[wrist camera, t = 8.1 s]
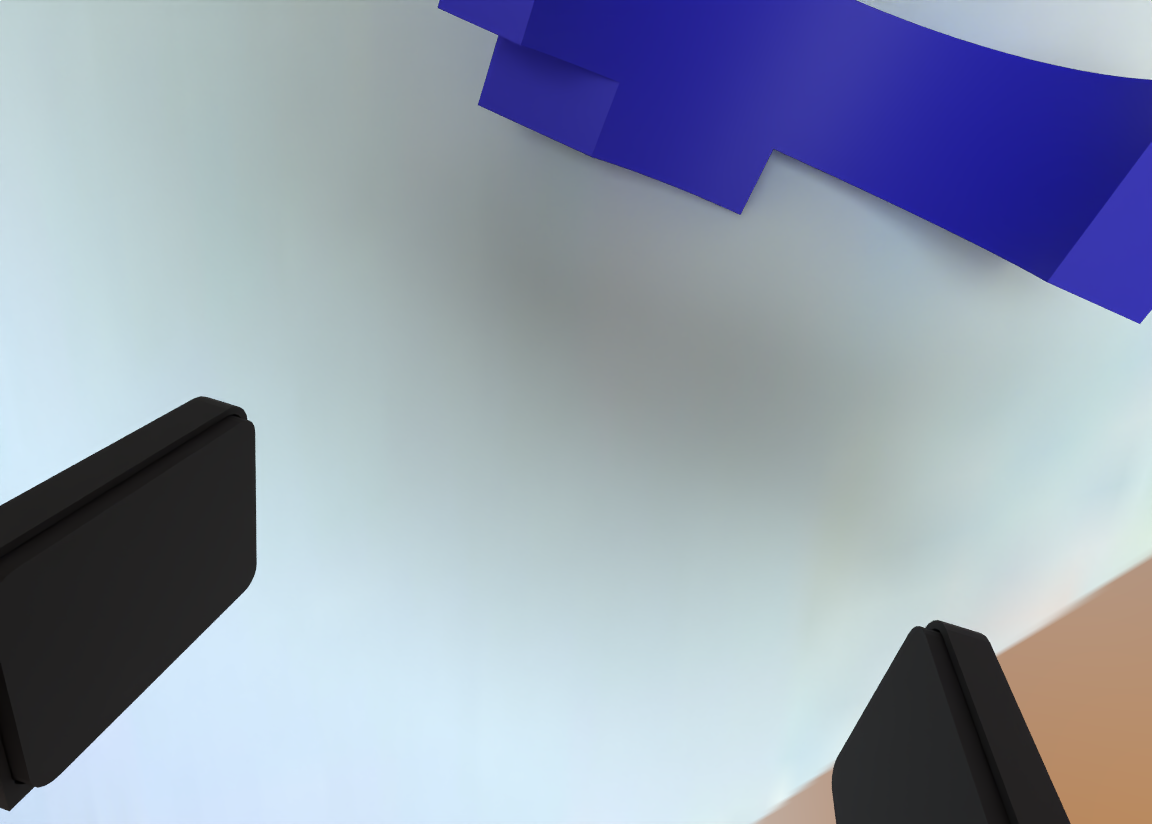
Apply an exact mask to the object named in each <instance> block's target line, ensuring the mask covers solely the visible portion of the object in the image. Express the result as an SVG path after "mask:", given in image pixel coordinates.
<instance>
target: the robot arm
mask: <svg viewBox="0 0 1152 824" xmlns="http://www.w3.org/2000/svg"><path fill="white" fill-rule="evenodd" d="M256 565H257V560H256V467H255V428H254V425H253V423H252V422H250V421H249V420H247V415H246V413H245V411H244V410H243V409H242V408H240V407H238V406H234V405H231V404H228V403H225V402H221V401H218V400H215V399H212V398H208V397H202V396H200V397H197V398H194V399H192V400H190V401H189V402H187V403H185V404H183V405H181V406H180V407H178V408H176V409H174V410H172V411H171V412H169V413H167V414H165V415H163V416H161V417H160V418H158V419H156V420H154V421H152V422H151V423H149V424H147V425H145V426H143V427H142V428H140V429H138V430H136V431H134V432H133V433H131V434H129V435H127V436H125V437H124V438H122V439H120V440H118V441H116V442H115V443H113V444H111V445H109V446H107V447H105V448H104V449H102V450H100V451H98V452H96V453H95V454H93V455H91V456H89V457H87V458H86V459H84V460H82V461H80V462H78V463H77V464H75V465H73V466H71V467H69V468H68V469H66V470H64V471H62V472H60V473H58V474H57V475H55V476H53V477H51V478H49V479H48V480H46V481H44V482H42V483H40V484H39V485H37V486H35V487H33V488H31V489H30V490H28V491H26V492H24V493H22V494H21V495H19V496H17V497H15V498H13V499H11V500H10V501H8V502H6V503H4V504H2V505H1V506H0V808H2V809H5V810H7V811H10V810H11V809H12V808H13V807H14V806H15V805H16V804H17V803H18V802H19V801H20V800H21V799H22V798H24V797H25V796H26V795H27V794H28V793H29V792H30V791H31V790H32V789H33V788H34V787H42V786H45V785H47V784H49V783H50V782H52V781H53V780H54V779H56V778H57V777H58V776H59V775H60V774H61V773H62V772H63V771H64V770H65V769H66V768H67V767H68V766H69V765H70V764H71V763H72V762H73V761H74V760H75V759H76V758H77V757H78V756H79V755H80V754H81V753H82V752H83V751H84V750H85V749H86V748H87V747H88V746H89V745H90V744H91V743H92V742H93V741H94V740H95V739H96V738H97V737H98V736H99V735H100V734H101V733H102V732H103V731H104V730H105V729H106V728H107V727H108V726H109V725H110V724H111V723H112V722H113V721H114V720H115V719H116V718H117V717H118V716H120V715H121V714H122V713H123V712H124V711H125V710H126V709H127V708H128V707H129V706H130V705H131V704H132V703H133V702H134V701H135V700H136V699H137V698H138V697H139V696H140V695H141V694H142V693H143V692H144V691H145V690H146V689H147V688H148V687H149V686H150V685H151V684H152V683H153V682H154V681H155V680H156V679H157V678H158V677H159V676H160V675H161V674H162V673H163V672H164V671H165V670H166V669H167V668H168V667H169V666H170V665H171V664H172V663H173V662H174V661H175V660H176V659H177V658H178V657H179V656H180V655H181V654H182V653H183V652H184V651H185V650H186V649H187V648H188V647H189V646H190V645H191V644H192V643H193V642H194V641H195V640H196V639H197V638H198V637H199V636H200V635H201V634H202V633H203V632H204V631H205V630H206V629H207V628H208V627H209V626H210V625H211V624H212V623H213V622H214V621H215V620H216V619H217V618H218V617H219V616H220V615H221V614H222V613H223V612H224V611H225V610H226V609H227V608H228V607H229V606H230V605H231V604H232V603H233V602H234V601H235V600H236V599H237V598H238V597H239V596H240V595H241V594H242V593H243V592H244V591H245V590H246V589H247V588H248V586H249V585H250V583H251V581H252V579H253V577H254V575H255V571H256ZM832 793H833V801H834V809H835V817H836V824H1070V821H1069V819H1068V817H1067V815H1066V813H1065V810H1064V809H1063V806H1062V803H1061V801H1060V799H1059V797H1058V795H1057V792H1056V790H1055V788H1054V786H1053V783H1052V781H1051V779H1050V777H1049V775H1048V772H1047V770H1046V768H1045V765H1044V763H1043V761H1042V759H1041V756H1040V754H1039V752H1038V750H1037V747H1036V745H1035V743H1034V741H1033V738H1032V736H1031V734H1030V732H1029V729H1028V727H1027V725H1026V723H1025V720H1024V718H1023V716H1022V714H1021V711H1020V709H1019V707H1018V705H1017V703H1016V700H1015V698H1014V696H1013V693H1012V691H1011V689H1010V687H1009V684H1008V682H1007V680H1006V678H1005V675H1004V673H1003V671H1002V669H1001V666H1000V664H999V662H998V660H997V657H996V655H995V653H994V651H993V648H992V646H991V644H990V642H989V640H988V639H987V637H986V636H985V635H983V634H981V633H979V632H975V631H972V630H969V629H965V628H962V627H959V626H956V625H952V624H949V623H946V622H942V621H939V620H935V621H932V622H931V623H929V624H928V625H927V626H926V628H923V627H920V626H916V627H914V628H913V629H912V630H911V631H910V633H909V634H908V636H907V638H906V639H905V641H904V643H903V644H902V646H901V648H900V650H899V651H898V653H897V655H896V657H895V658H894V660H893V662H892V663H891V665H890V667H889V669H888V670H887V672H886V674H885V676H884V677H883V679H882V681H881V683H880V684H879V686H878V688H877V689H876V691H875V693H874V695H873V696H872V698H871V700H870V702H869V703H868V705H867V707H866V709H865V710H864V712H863V714H862V715H861V717H860V719H859V721H858V722H857V724H856V726H855V728H854V729H853V731H852V733H851V734H850V736H849V738H848V740H847V741H846V743H845V745H844V747H843V748H842V750H841V752H840V754H839V755H838V757H837V759H836V761H835V765H834V768H833V774H832Z"/></svg>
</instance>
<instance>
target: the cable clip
mask: <svg viewBox="0 0 1152 824" xmlns="http://www.w3.org/2000/svg"><path fill="white" fill-rule="evenodd" d="M438 8H439V9H441V10H443V11H446V12H448V13H450V14H452V15H454V16H457V17H459V18H461V19H463V20H466V21H468V22H470V23H472V24H474V25H477V26H479V27H481V28H483V29H486V30H488V31H490V32H492V33H494V34H497V35H498V39H497V42H496V46H495V49H494V52H493V56H492V59H491V62H490V66H489V69H488V73H487V76H486V79H485V83H484V86H483V89H482V93H481V96H480V100H479V103H478V105H479V106H481V107H483V108H486V109H488V110H490V111H492V112H494V113H497V114H499V115H501V116H503V117H505V118H507V119H510V120H512V121H514V122H516V123H518V124H521V125H523V126H525V127H527V128H529V129H531V130H534V131H536V132H538V133H540V134H542V135H545V136H547V137H549V138H551V139H553V140H556V141H558V142H560V143H562V144H564V145H566V146H569V147H571V148H573V149H575V150H577V151H580V152H582V153H584V154H586V155H588V156H591V157H593V158H597V159H600V160H603V161H606V162H609V163H612V164H615V165H618V166H621V167H624V168H626V169H629V170H632V171H635V172H638V173H640V174H643V175H646V176H648V177H651V178H654V179H656V180H659V181H661V182H664V183H667V184H669V185H672V186H674V187H677V188H679V189H682V190H684V191H687V192H689V193H691V194H694V195H696V196H699V197H701V198H703V199H706V200H708V201H710V202H713V203H715V204H717V205H719V206H722V207H724V208H726V209H729V210H731V211H733V212H735V213H737V214H740V215H741V213H742V211H743V209H744V207H745V205H746V203H747V201H748V199H749V197H750V195H751V193H752V191H753V189H754V187H755V185H756V183H757V181H758V179H759V177H760V175H761V173H762V171H763V169H764V167H765V165H766V163H767V161H768V159H769V157H770V155H771V153H772V151H773V149H775V150H777V151H779V152H781V153H783V154H786V155H788V156H790V157H792V158H795V159H797V160H799V161H801V162H803V163H806V164H808V165H810V166H812V167H814V168H816V169H819V170H821V171H823V172H825V173H827V174H830V175H832V176H834V177H836V178H838V179H840V180H843V181H845V182H847V183H849V184H851V185H853V186H855V187H858V188H860V189H862V190H864V191H866V192H868V193H870V194H873V195H875V196H877V197H879V198H881V199H883V200H885V201H887V202H890V203H892V204H894V205H896V206H898V207H900V208H902V209H904V210H906V211H908V212H911V213H913V214H915V215H917V216H919V217H921V218H923V219H925V220H927V221H929V222H931V223H933V224H935V225H937V226H940V227H942V228H944V229H946V230H948V231H950V232H952V233H954V234H956V235H958V236H960V237H962V238H964V239H966V240H968V241H970V242H972V243H974V244H976V245H978V246H980V247H982V248H984V249H986V250H988V251H990V252H992V253H994V254H996V255H998V256H1000V257H1002V258H1003V259H1005V260H1007V261H1009V262H1011V263H1013V264H1015V265H1017V266H1019V267H1021V268H1022V269H1024V270H1026V271H1028V272H1030V273H1032V274H1034V275H1035V276H1037V277H1039V278H1041V279H1042V280H1044V281H1046V282H1048V283H1050V284H1052V285H1055V286H1057V287H1059V288H1061V289H1063V290H1066V291H1068V292H1070V293H1072V294H1075V295H1077V296H1079V297H1081V298H1084V299H1086V300H1088V301H1090V302H1092V303H1095V304H1097V305H1099V306H1101V307H1104V308H1106V309H1108V310H1110V311H1112V312H1115V313H1117V314H1119V315H1121V316H1124V317H1126V318H1128V319H1130V320H1132V321H1135V322H1137V323H1139V324H1140V323H1141V322H1142V321H1143V320H1144V318H1145V317H1146V316H1147V315H1148V314H1149V312H1150V311H1151V310H1152V80H1148V79H1136V78H1126V77H1118V76H1111V75H1104V74H1098V73H1092V72H1086V71H1080V70H1075V69H1070V68H1065V67H1061V66H1056V65H1051V64H1047V63H1043V62H1039V61H1034V60H1030V59H1026V58H1023V57H1019V56H1015V55H1011V54H1007V53H1004V52H1000V51H997V50H993V49H990V48H987V47H983V46H980V45H977V44H973V43H970V42H967V41H964V40H961V39H957V38H954V37H951V36H949V35H946V34H943V33H940V32H937V31H934V30H931V29H928V28H925V27H923V26H920V25H917V24H914V23H912V22H909V21H906V20H904V19H901V18H898V17H896V16H893V15H891V14H888V13H885V12H883V11H880V10H878V9H876V8H873V7H871V6H868V5H866V4H863V3H861V2H859V1H856V0H440V1H439V5H438Z"/></svg>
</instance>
